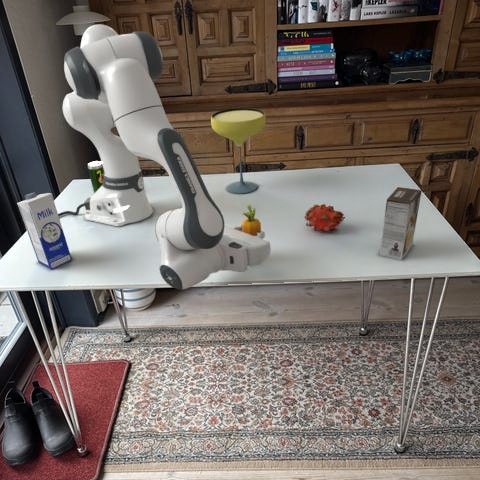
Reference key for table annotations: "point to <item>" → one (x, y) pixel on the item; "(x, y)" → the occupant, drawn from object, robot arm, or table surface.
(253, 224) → the carrot
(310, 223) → the dragon fruit
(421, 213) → the table surface
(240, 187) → the cocktail glass
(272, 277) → the table surface
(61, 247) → the milk carton
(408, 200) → the coffee box
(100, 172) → the beer can
